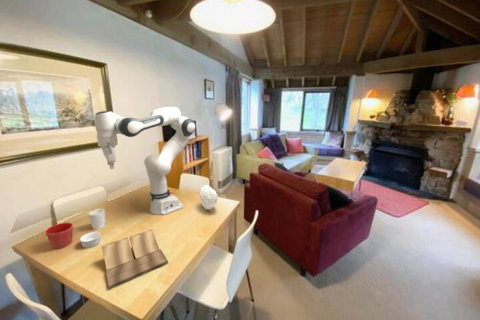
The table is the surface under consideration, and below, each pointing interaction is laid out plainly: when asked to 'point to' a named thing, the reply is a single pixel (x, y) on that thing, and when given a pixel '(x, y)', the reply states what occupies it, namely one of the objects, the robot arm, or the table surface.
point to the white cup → (97, 218)
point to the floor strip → (135, 268)
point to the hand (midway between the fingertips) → (110, 166)
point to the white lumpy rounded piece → (208, 197)
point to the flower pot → (60, 235)
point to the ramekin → (90, 239)
